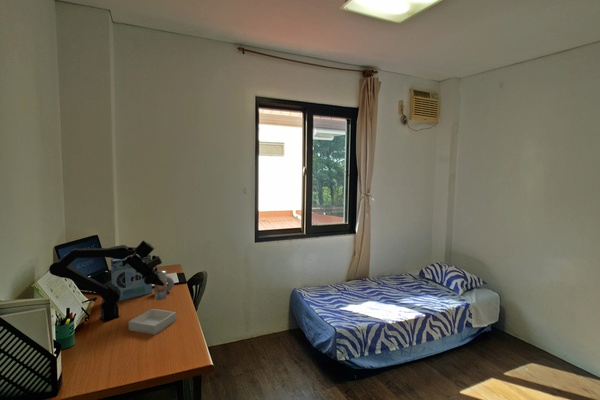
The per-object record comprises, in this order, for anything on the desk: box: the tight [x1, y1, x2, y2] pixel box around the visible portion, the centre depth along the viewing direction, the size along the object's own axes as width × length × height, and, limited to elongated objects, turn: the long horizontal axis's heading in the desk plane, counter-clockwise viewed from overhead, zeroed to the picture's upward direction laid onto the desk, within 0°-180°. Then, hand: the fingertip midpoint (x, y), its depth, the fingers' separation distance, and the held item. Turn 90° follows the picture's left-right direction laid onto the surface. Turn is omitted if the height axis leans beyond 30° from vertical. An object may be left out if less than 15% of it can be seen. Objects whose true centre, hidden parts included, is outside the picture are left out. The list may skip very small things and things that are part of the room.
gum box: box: [110, 253, 153, 302], centre depth 175 cm, size 20×5×23 cm, turn 134°
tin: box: [153, 269, 168, 301], centre depth 159 cm, size 6×6×14 cm
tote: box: [127, 308, 177, 336], centre depth 143 cm, size 14×14×4 cm
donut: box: [166, 275, 175, 293], centre depth 182 cm, size 10×4×10 cm, turn 113°
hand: (163, 283), depth 159 cm, fingers closed on tin, 6 cm apart
